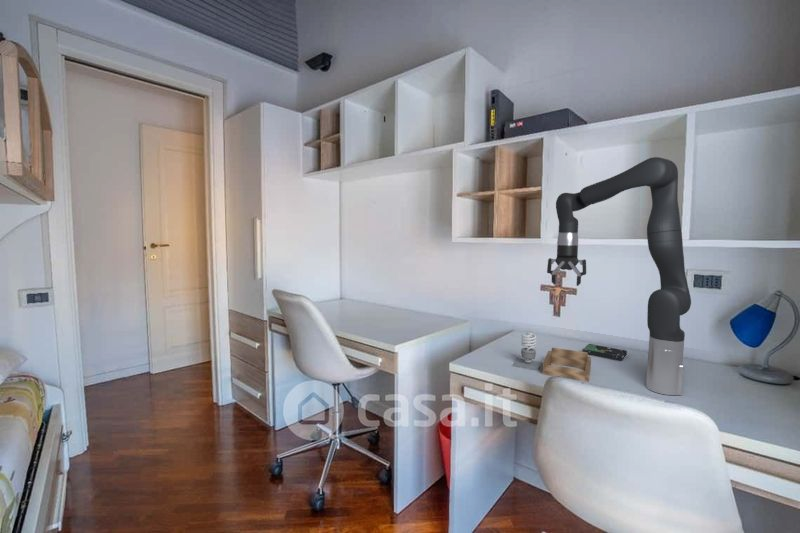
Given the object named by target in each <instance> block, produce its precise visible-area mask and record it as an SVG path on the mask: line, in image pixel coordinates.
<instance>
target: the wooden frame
mask: <svg viewBox="0 0 800 533" xmlns="http://www.w3.org/2000/svg"><path fill="white" fill-rule="evenodd" d="M591 366H592V356H589V355H588V352H582V351H580V350H572V349H566V348H565V349H564V348H558V347H551V350H548V352H547V353H546V355H545V357H544V359H543V361H542V371H541V372H542V375H545V376H546V375H547V376H552V377H557V376H561V377H560V378H563V377H566V378H565V379H569V378H570V379H569V380H576V381H581V382H587V383H589V381H590V375H591V370H592V369H591V368H592V367H591Z"/></svg>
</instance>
